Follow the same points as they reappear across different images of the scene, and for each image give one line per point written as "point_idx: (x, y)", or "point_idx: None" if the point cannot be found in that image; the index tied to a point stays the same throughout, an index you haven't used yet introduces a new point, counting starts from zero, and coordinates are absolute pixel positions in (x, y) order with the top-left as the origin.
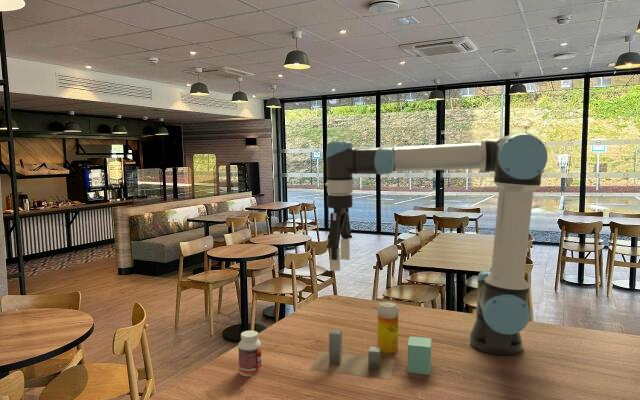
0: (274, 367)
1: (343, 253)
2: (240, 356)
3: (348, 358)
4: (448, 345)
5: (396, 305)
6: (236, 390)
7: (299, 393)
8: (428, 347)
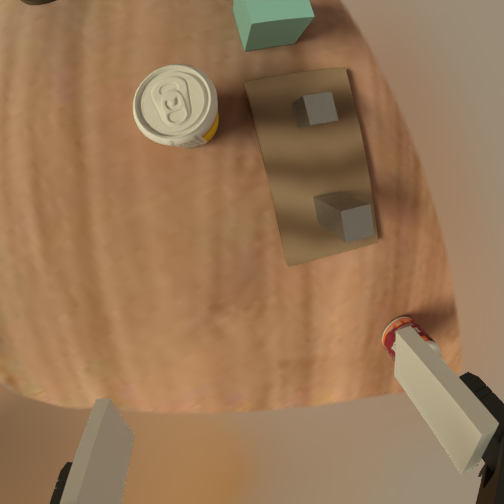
0: (371, 311)
1: (118, 453)
2: None
3: (295, 187)
4: (89, 21)
5: (172, 65)
6: (447, 310)
7: (435, 219)
8: None
